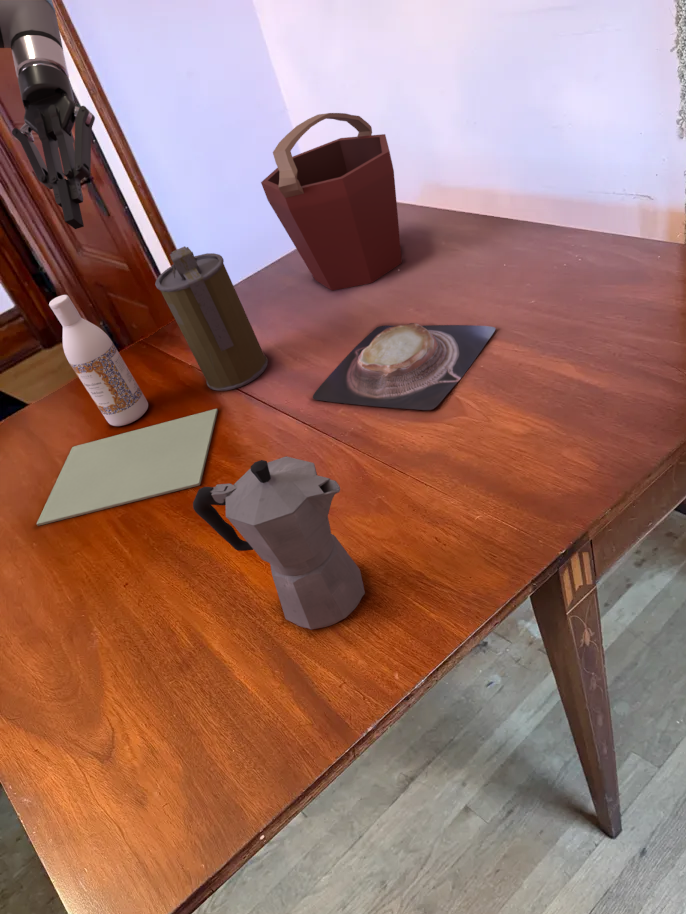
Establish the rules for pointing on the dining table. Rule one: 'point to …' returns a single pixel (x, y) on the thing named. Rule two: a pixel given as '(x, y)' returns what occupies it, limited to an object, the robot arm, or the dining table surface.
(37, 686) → the dining table surface
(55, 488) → the mat
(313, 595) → the coffeepot
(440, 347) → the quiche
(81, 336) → the bath foam
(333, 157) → the bucket
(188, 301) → the canister
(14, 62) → the robot arm
